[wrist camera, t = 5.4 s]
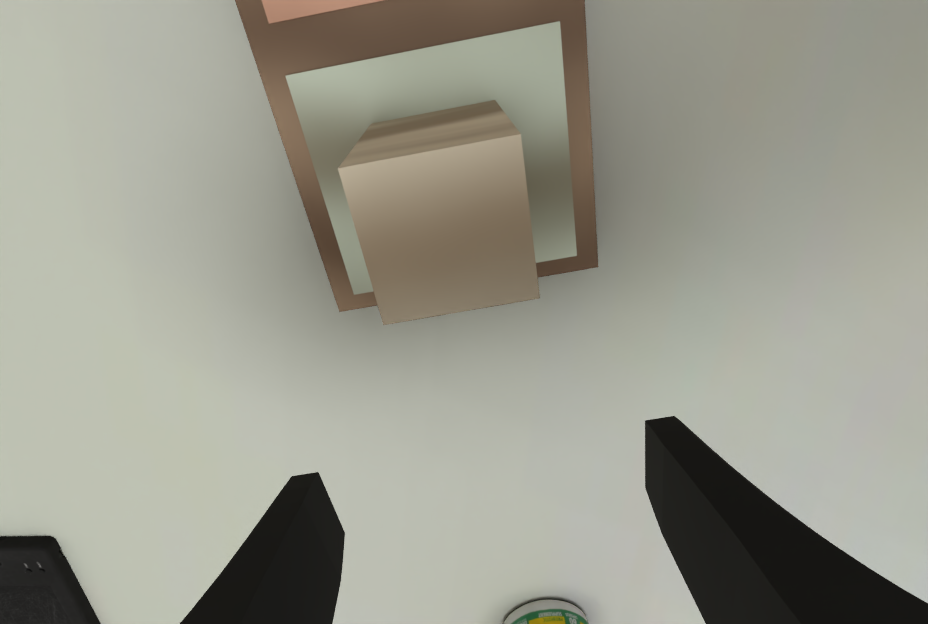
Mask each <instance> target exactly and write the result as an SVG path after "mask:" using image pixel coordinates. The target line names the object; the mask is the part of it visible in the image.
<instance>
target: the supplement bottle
mask: <svg viewBox="0 0 928 624" xmlns="http://www.w3.org/2000/svg"><path fill="white" fill-rule="evenodd" d="M504 624H588V621H587V618H586V616H585V615H584V613H583V612H582V611H581V610H580V609H579V608H577V607H576V606H574V605H573V604H570V603H568V602H564V601H559V600H538V601H534V602H531V603H528V604H525V605H523V606H522V607H520V608H518V609H516V610H515V611H513V612H512V613H511V614H510V615H509V616H508V617H507V619H506V620H505V622H504Z"/></svg>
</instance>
